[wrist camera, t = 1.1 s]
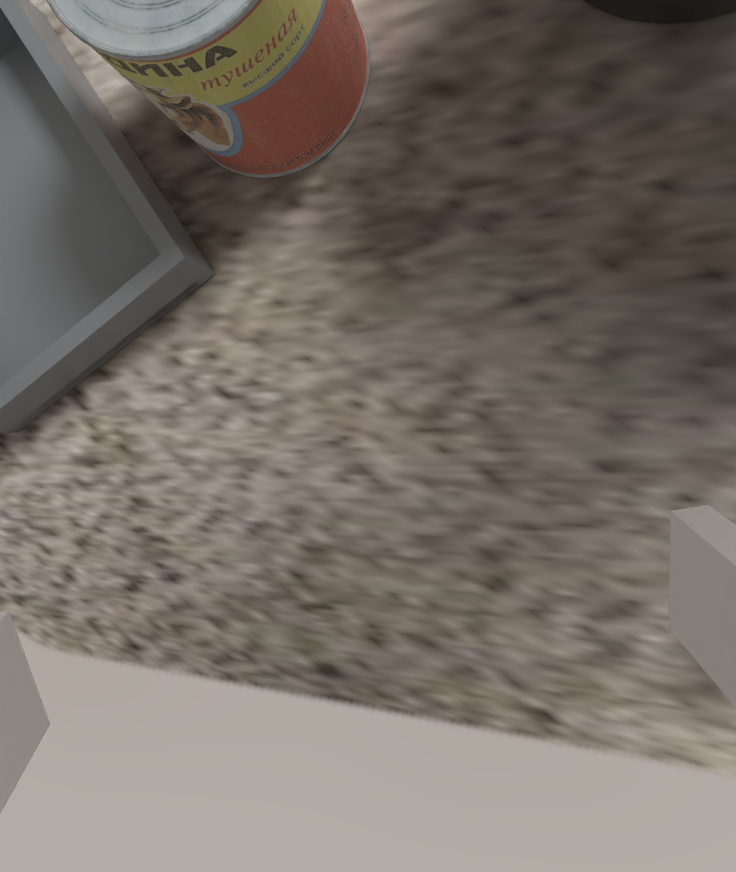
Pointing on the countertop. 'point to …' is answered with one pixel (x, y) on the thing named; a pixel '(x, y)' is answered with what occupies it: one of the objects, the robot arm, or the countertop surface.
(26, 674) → the robot arm
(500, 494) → the countertop surface
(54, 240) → the tray
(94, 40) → the canned food
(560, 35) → the countertop surface
